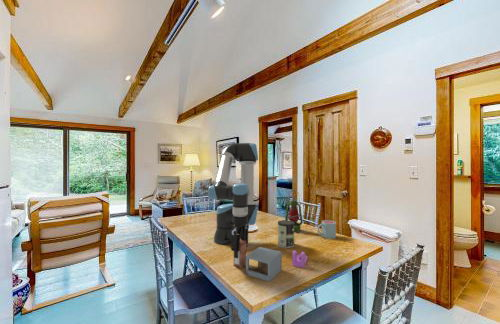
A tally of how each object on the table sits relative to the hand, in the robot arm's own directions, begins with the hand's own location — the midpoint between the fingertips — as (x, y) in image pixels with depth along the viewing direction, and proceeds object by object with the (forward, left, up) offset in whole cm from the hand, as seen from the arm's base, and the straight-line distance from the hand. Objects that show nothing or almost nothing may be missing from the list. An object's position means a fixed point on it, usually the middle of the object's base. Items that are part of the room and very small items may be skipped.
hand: (239, 261), depth 112 cm
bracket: (+25, +20, -2) cm, 32 cm away
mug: (+27, +67, -2) cm, 72 cm away
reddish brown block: (+7, 0, -2) cm, 7 cm away
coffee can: (+9, +38, -2) cm, 39 cm away
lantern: (+3, +69, -2) cm, 69 cm away
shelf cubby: (+13, 0, -2) cm, 14 cm away
